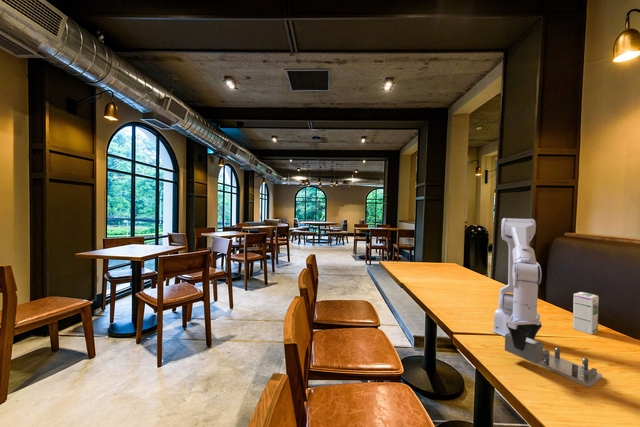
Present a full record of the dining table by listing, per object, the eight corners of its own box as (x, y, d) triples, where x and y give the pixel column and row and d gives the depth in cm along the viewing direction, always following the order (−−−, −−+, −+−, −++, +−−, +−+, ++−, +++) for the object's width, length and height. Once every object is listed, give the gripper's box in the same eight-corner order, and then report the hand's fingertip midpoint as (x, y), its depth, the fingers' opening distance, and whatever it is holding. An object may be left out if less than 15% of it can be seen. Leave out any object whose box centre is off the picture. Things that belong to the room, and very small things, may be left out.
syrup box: (592, 335, 100) (593, 297, 99) (571, 328, 105) (573, 292, 105) (598, 332, 102) (599, 295, 102) (577, 325, 108) (579, 291, 107)
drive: (504, 350, 82) (505, 334, 82) (512, 346, 84) (512, 331, 84) (535, 364, 75) (535, 346, 75) (542, 359, 77) (543, 342, 77)
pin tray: (531, 361, 81) (532, 349, 81) (545, 354, 85) (546, 342, 85) (589, 387, 70) (590, 373, 70) (602, 378, 74) (602, 364, 74)
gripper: (528, 311, 72) (526, 360, 73) (552, 303, 79) (550, 347, 79) (500, 303, 78) (498, 347, 79) (525, 296, 85) (523, 337, 86)
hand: (523, 346), depth 79 cm, fingers closed on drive, 4 cm apart
